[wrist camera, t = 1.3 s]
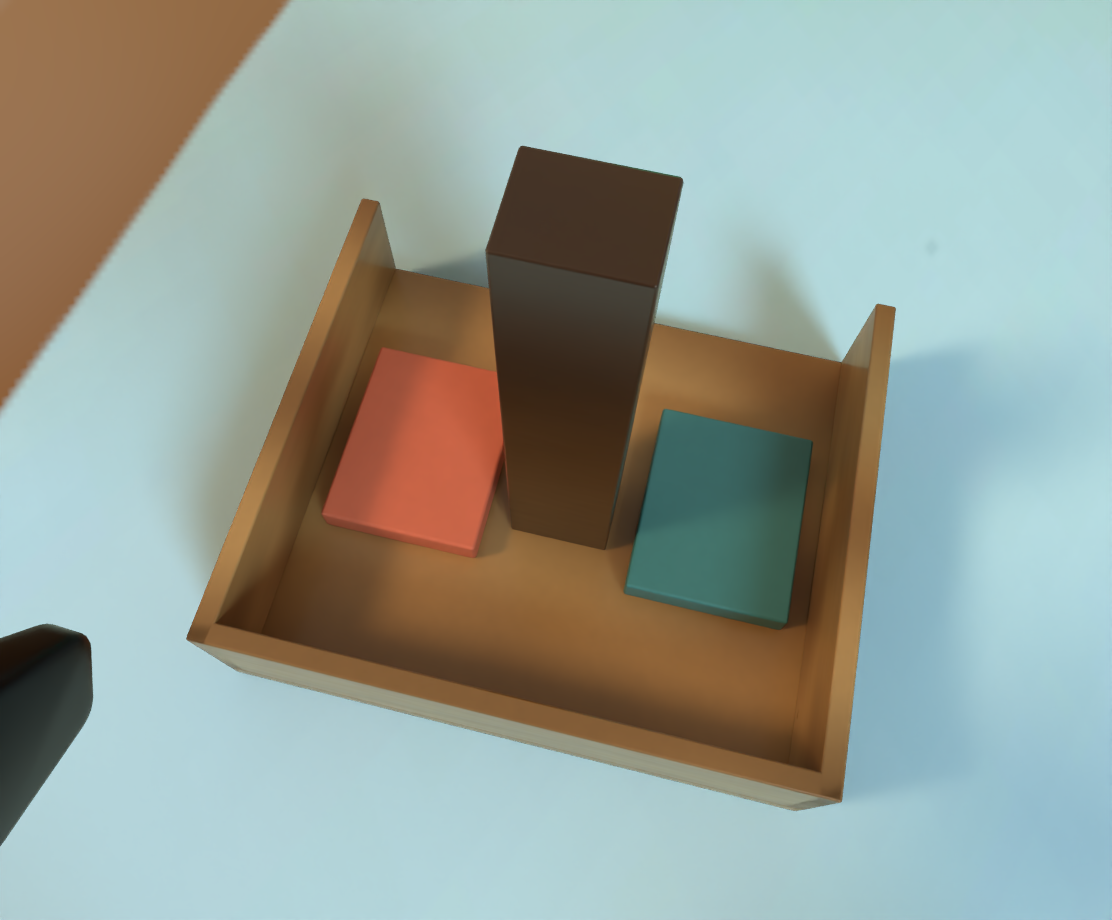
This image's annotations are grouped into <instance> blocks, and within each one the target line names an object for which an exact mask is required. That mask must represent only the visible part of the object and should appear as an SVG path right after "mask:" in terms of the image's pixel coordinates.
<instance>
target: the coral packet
mask: <svg viewBox="0 0 1112 920" xmlns="http://www.w3.org/2000/svg"><path fill="white" fill-rule="evenodd" d="M504 459H505V455H504V444H503V433H502V423H501V412H500V401H499V391H498V380H497V372H495V371H490V370H486V369H481V368H477V367H472V366H468V365H463V364H458V363H454V362H449V361H445V360H440V359H435V358H431V357H426V356H422V355H417V354H412V353H408V352H403V351H399V350H394V349H390V348H385V347H382V348H381V349H380V351H379V354H378V357H377V360H376V362H375V365H374V368H373V371H372V373H371V376H370V379H369V382H368V384H367V387H366V390H365V393H364V396H363V398H362V401H361V404H360V407H359V409H358V412H357V415H356V418H355V420H354V423H353V426H352V429H351V431H350V434H349V437H348V440H347V443H346V445H345V448H344V451H343V454H342V456H341V459H340V462H339V465H338V467H337V470H336V473H335V476H334V479H333V481H332V484H331V487H330V490H329V492H328V495H327V498H326V501H325V503H324V506H323V509H322V512H321V513H322V516H323V518H324V519H325V521H326V522H327V523H328V524H329V525H334V526H338V527H342V528H346V529H351V530H355V531H359V532H363V533H368V534H372V535H376V536H381V537H385V538H389V539H393V540H398V541H402V542H406V543H410V544H415V545H419V546H423V547H427V548H432V549H436V550H440V551H444V552H449V553H453V554H457V555H461V556H466V557H470V558H475V557H476V556H477V553H478V550H479V546H480V543H481V539H482V536H483V532H484V529H485V525H486V522H487V518H488V515H489V511H490V508H491V504H492V501H493V497H494V494H495V490H496V487H497V483H498V480H499V476H500V473H501V469H502V466H503V462H504Z"/></svg>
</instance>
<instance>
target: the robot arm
mask: <svg viewBox="0 0 1112 920" xmlns="http://www.w3.org/2000/svg"><path fill="white" fill-rule="evenodd" d="M92 702H93V684H92V660H91V645H90V642H89V640H88V638H87V637H86V636H85V635H83V634H82V633H79V632H76V631H73V630H69V629H66V628H63V627H60V626H56V625H53V624H42V625H38V626H35V627H32V628H29V629H26V630H23V631H20V632H17V633H14V634H11V635H9V636H6V637H3V638H0V846H1V845H2V843H3V842H4V841H5V839H6V838H7V836H8V835H9V833H10V832H11V830H12V829H13V827H14V826H15V825H16V823H17V822H18V820H19V819H20V817H21V816H22V814H23V813H24V811H25V810H26V809H27V807H28V806H29V804H30V803H31V801H32V800H33V798H34V797H35V795H36V794H37V793H38V791H39V790H40V788H41V787H42V785H43V784H44V782H45V781H46V780H47V778H48V777H49V775H50V774H51V772H52V771H53V769H54V768H55V766H56V765H57V764H58V762H59V761H60V759H61V758H62V756H63V755H64V753H65V752H66V750H67V749H68V748H69V746H70V745H71V743H72V742H73V740H74V739H75V737H76V736H77V734H78V733H79V732H80V730H81V729H82V727H83V725H84V724H85V722H86V720H87V718H88V716H89V714H90V711H91V707H92Z"/></svg>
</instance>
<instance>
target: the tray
mask: <svg viewBox="0 0 1112 920" xmlns="http://www.w3.org/2000/svg"><path fill="white" fill-rule="evenodd" d="M682 187H683V179H682V178H681V177H678V176H673V175H668V174H663V173H658V172H653V171H648V170H643V169H638V168H633V167H628V166H622V165H617V164H612V163H607V162H602V161H597V160H592V159H587V158H582V157H577V156H572V155H567V154H562V153H557V152H552V151H546V150H541V149H536V148H531V147H526V146H520V148H519V149H518V152H517V155H516V158H515V161H514V164H513V167H512V170H511V173H510V177H509V180H508V183H507V186H506V189H505V192H504V195H503V198H502V201H501V204H500V207H499V210H498V213H497V216H496V220H495V223H494V226H493V229H492V232H491V235H490V238H489V241H488V244H487V247H486V250H485V252H486V262H487V273H488V284H489V288H485V287H480V286H475V285H471V284H466V283H461V282H456V281H452V280H447V279H442V278H437V277H433V276H428V275H423V274H418V273H414V272H409V271H404V270H399V269H395V263H394V259H393V255H392V251H391V247H390V243H389V239H388V235H387V231H386V227H385V223H384V219H383V215H382V211H381V207H380V203H379V202H378V201H374V200H369V199H362V200H361V203H360V205H359V208H358V210H357V213H356V215H355V218H354V220H353V223H352V225H351V228H350V230H349V233H348V235H347V238H346V240H345V243H344V245H343V248H342V250H341V253H340V255H339V258H338V260H337V263H336V265H335V268H334V270H333V273H332V275H331V278H330V280H329V283H328V285H327V288H326V290H325V293H324V295H323V298H322V300H321V303H320V305H319V308H318V310H317V313H316V315H315V318H314V320H313V323H312V325H311V328H310V330H309V333H308V335H307V338H306V340H305V343H304V345H303V348H302V350H301V353H300V355H299V358H298V360H297V362H296V365H295V367H294V370H293V372H292V375H291V377H290V380H289V382H288V385H287V387H286V390H285V392H284V395H283V397H282V400H281V402H280V405H279V407H278V410H277V412H276V415H275V417H274V420H273V422H272V425H271V427H270V430H269V432H268V435H267V437H266V440H265V442H264V445H263V447H262V450H261V452H260V455H259V457H258V460H257V462H256V465H255V467H254V470H253V472H252V475H251V477H250V480H249V482H248V485H247V487H246V490H245V492H244V495H243V497H242V500H241V502H240V505H239V507H238V510H237V512H236V515H235V517H234V520H233V522H232V525H231V527H230V530H229V532H228V535H227V537H226V540H225V542H224V545H223V547H222V550H221V552H220V555H219V557H218V560H217V562H216V565H215V567H214V570H213V572H212V575H211V577H210V580H209V582H208V585H207V587H206V590H205V592H204V595H203V597H202V600H201V602H200V605H199V607H198V610H197V612H196V615H195V617H194V620H193V622H192V625H191V627H190V630H189V632H188V635H187V638H186V639H187V640H188V641H189V642H191V643H192V644H194V645H196V646H197V647H199V648H201V649H202V650H204V651H205V652H207V653H209V654H210V655H212V656H213V657H215V658H217V659H218V660H220V661H221V662H223V663H225V664H226V665H228V666H230V667H231V668H233V669H234V670H236V671H238V672H242V673H246V674H250V675H254V676H258V677H262V678H266V679H270V680H274V681H278V682H282V683H286V684H290V685H294V686H298V687H302V688H306V689H310V690H314V691H318V692H322V693H326V694H330V695H334V696H338V697H342V698H346V699H350V700H354V701H358V702H362V703H366V704H370V705H374V706H378V707H382V708H386V709H390V710H394V711H398V712H402V713H406V714H410V715H414V716H418V717H422V718H426V719H430V720H433V721H437V722H441V723H445V724H449V725H453V726H457V727H461V728H465V729H469V730H473V731H477V732H481V733H485V734H489V735H493V736H497V737H501V738H505V739H509V740H513V741H517V742H521V743H525V744H529V745H533V746H537V747H541V748H545V749H549V750H553V751H557V752H561V753H565V754H569V755H573V756H577V757H581V758H585V759H589V760H593V761H597V762H601V763H605V764H609V765H613V766H617V767H621V768H625V769H629V770H633V771H637V772H641V773H645V774H649V775H653V776H657V777H661V778H665V779H669V780H673V781H677V782H681V783H685V784H689V785H693V786H697V787H701V788H705V789H709V790H713V791H717V792H721V793H725V794H729V795H733V796H737V797H741V798H745V799H749V800H753V801H757V802H761V803H765V804H769V805H773V806H777V807H781V808H785V809H789V810H793V811H798V810H805V809H810V808H815V807H820V806H825V805H830V804H835V803H840V802H842V797H843V788H844V778H845V769H846V760H847V751H848V742H849V733H850V723H851V714H852V705H853V696H854V687H855V678H856V668H857V659H858V650H859V641H860V632H861V623H862V614H863V604H864V595H865V586H866V577H867V568H868V559H869V549H870V540H871V531H872V522H873V513H874V504H875V494H876V485H877V476H878V467H879V458H880V449H881V439H882V430H883V421H884V412H885V403H886V394H887V385H888V375H889V366H890V357H891V348H892V339H893V330H894V320H895V311H896V308H895V307H891V306H887V305H882V304H876V306H875V308H874V309H873V311H872V313H871V314H870V316H869V318H868V319H867V321H866V323H865V324H864V326H863V328H862V329H861V331H860V333H859V334H858V336H857V338H856V339H855V341H854V343H853V344H852V346H851V348H850V349H849V351H848V353H847V354H846V356H845V358H844V359H843V361H842V363H841V362H836V361H831V360H827V359H822V358H817V357H812V356H808V355H803V354H798V353H793V352H789V351H784V350H779V349H774V348H770V347H765V346H760V345H755V344H751V343H746V342H741V341H736V340H732V339H727V338H722V337H717V336H713V335H708V334H703V333H698V332H694V331H689V330H684V329H679V328H675V327H670V326H665V325H660V324H656V323H654V322H655V317H656V312H657V307H658V302H659V298H660V293H661V288H662V283H663V278H664V273H665V269H666V264H667V259H668V254H669V249H670V245H671V240H672V235H673V230H674V225H675V220H676V216H677V211H678V206H679V201H680V196H681V192H682ZM382 347H385V348H390V349H394V350H399V351H403V352H408V353H412V354H417V355H422V356H426V357H431V358H435V359H440V360H445V361H449V362H454V363H458V364H463V365H468V366H472V367H477V368H481V369H486V370H490V371H495V372H497V380H498V391H499V401H500V412H501V423H502V433H503V444H504V455H505V459H504V462H503V466H502V469H501V473H500V476H499V480H498V483H497V487H496V490H495V494H494V497H493V501H492V504H491V508H490V511H489V515H488V518H487V522H486V525H485V529H484V532H483V536H482V539H481V543H480V546H479V550H478V553H477V556H476V557H475V558H470V557H466V556H461V555H457V554H453V553H449V552H444V551H440V550H436V549H432V548H427V547H423V546H419V545H415V544H410V543H406V542H402V541H398V540H393V539H389V538H385V537H381V536H376V535H372V534H368V533H363V532H359V531H355V530H351V529H346V528H342V527H338V526H334V525H329V524H328V523H327V522H326V521H325V519H324V518H323V516H322V513H321V512H322V509H323V506H324V503H325V501H326V498H327V495H328V492H329V490H330V487H331V484H332V481H333V479H334V476H335V473H336V470H337V467H338V465H339V462H340V459H341V456H342V454H343V451H344V448H345V445H346V443H347V440H348V437H349V434H350V431H351V429H352V426H353V423H354V420H355V418H356V415H357V412H358V409H359V407H360V404H361V401H362V398H363V396H364V393H365V390H366V387H367V384H368V382H369V379H370V376H371V373H372V371H373V368H374V365H375V362H376V360H377V357H378V354H379V351H380V349H381V348H382ZM664 409H670V410H675V411H679V412H684V413H689V414H693V415H698V416H702V417H707V418H711V419H716V420H721V421H725V422H730V423H734V424H739V425H744V426H748V427H753V428H757V429H762V430H767V431H771V432H776V433H780V434H785V435H789V436H794V437H799V438H803V439H808V440H811V441H813V449H812V456H811V463H810V470H809V477H808V484H807V491H806V498H805V505H804V512H803V519H802V526H801V534H800V541H799V548H798V555H797V562H796V569H795V576H794V583H793V590H792V597H791V604H790V611H789V619H788V622H787V624H786V625H785V626H784V627H783V628H782V629H781V630H776V629H771V628H767V627H763V626H758V625H754V624H750V623H746V622H741V621H737V620H733V619H729V618H724V617H720V616H716V615H712V614H707V613H703V612H699V611H695V610H690V609H686V608H682V607H678V606H673V605H669V604H665V603H661V602H656V601H652V600H648V599H644V598H639V597H635V596H631V595H627V594H625V593H624V591H623V590H624V585H625V580H626V576H627V571H628V566H629V562H630V557H631V553H632V548H633V543H634V539H635V534H636V529H637V525H638V520H639V515H640V511H641V506H642V502H643V497H644V492H645V488H646V483H647V478H648V474H649V469H650V465H651V460H652V455H653V451H654V446H655V441H656V437H657V432H658V427H659V423H660V419H661V415H662V411H663V410H664Z"/></svg>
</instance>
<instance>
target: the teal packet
mask: <svg viewBox="0 0 1112 920" xmlns="http://www.w3.org/2000/svg"><path fill="white" fill-rule="evenodd" d="M812 449H813V441H811V440H808V439H803V438H799V437H794V436H789V435H785V434H780V433H776V432H771V431H767V430H762V429H757V428H753V427H748V426H744V425H739V424H734V423H730V422H725V421H721V420H716V419H711V418H707V417H702V416H698V415H693V414H689V413H684V412H679V411H675V410H670V409H664V410H663V411H662V415H661V419H660V423H659V427H658V432H657V437H656V441H655V446H654V451H653V455H652V460H651V465H650V469H649V474H648V478H647V483H646V488H645V492H644V497H643V502H642V506H641V511H640V515H639V520H638V525H637V529H636V534H635V539H634V543H633V548H632V553H631V557H630V562H629V566H628V571H627V576H626V580H625V585H624V590H623V591H624V593H625V594H627V595H631V596H635V597H639V598H644V599H648V600H652V601H656V602H661V603H665V604H669V605H673V606H678V607H682V608H686V609H690V610H695V611H699V612H703V613H707V614H712V615H716V616H720V617H724V618H729V619H733V620H737V621H741V622H746V623H750V624H754V625H758V626H763V627H767V628H771V629H776V630H781V629H782V628H783V627H784V626H785V625H786V624H787V622H788V619H789V611H790V604H791V597H792V590H793V583H794V576H795V569H796V562H797V555H798V548H799V541H800V534H801V526H802V519H803V512H804V505H805V498H806V491H807V484H808V477H809V470H810V463H811V456H812Z"/></svg>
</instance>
